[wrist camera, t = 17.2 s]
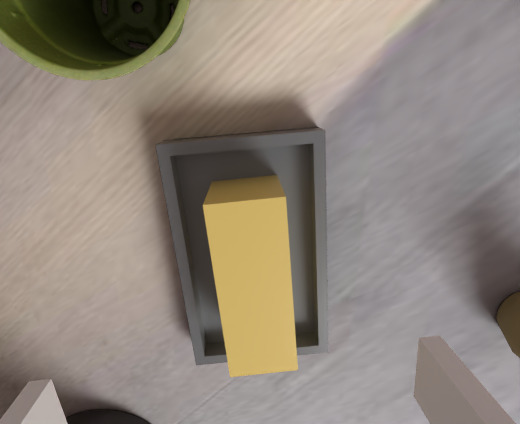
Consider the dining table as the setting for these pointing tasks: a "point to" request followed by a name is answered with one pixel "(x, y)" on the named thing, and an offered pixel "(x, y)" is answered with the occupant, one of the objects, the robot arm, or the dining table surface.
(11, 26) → the plant pot
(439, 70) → the dining table surface
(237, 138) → the tray
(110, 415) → the robot arm
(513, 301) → the squeeze bottle
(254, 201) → the mustard yellow carton
